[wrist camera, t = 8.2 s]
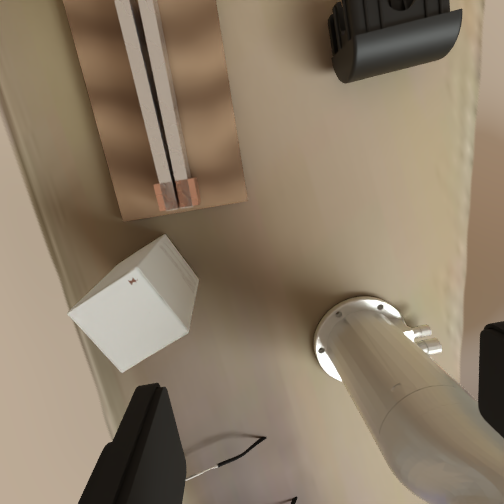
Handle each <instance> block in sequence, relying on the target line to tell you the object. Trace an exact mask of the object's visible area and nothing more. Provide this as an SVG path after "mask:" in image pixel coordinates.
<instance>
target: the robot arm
mask: <svg viewBox="0 0 504 504" xmlns="http://www.w3.org/2000/svg"><path fill="white" fill-rule="evenodd" d="M431 333H432V332H431V329H430V327H429V326H428V325H422V326H417V327H414V328H411V327H409V326H406V324H405V321H404V319H403V317H402V316H401V314H400V313H399V311H398V310H396V309H395V308H394V307H393V306H392V305H391V304H389V303H388V302H386V301H384V300H382V299H379V298H375V297H370V296H360V297H355V298H350V299H348V300H345V301H342V302H341V303H339V304H337V305H336V306H334V307H333V308H332V309H330V310H329V311H328V312H327V313H326V314H325V316H324V317H323V318H322V319H321V321H320V323H319V324H318V326H317V329H316V332H315V335H314V352H315V355H316V358H317V360H318V362H319V364H320V366H321V367H322V368H323V370H324V371H325V372H326V373H327V374H328V375H330V376H331V377H333V378H335V379H337V380H339V381H342V382H343V383H344V385H345V387H346V389H347V391H348V393H349V394H350V396H351V398H352V400H353V402H354V404H355V405H356V407H357V409H358V411H359V413H360V414H361V416H362V418H363V420H364V422H365V424H366V425H367V427H368V429H369V431H370V433H371V435H372V436H373V438H374V440H375V442H376V444H377V445H378V447H379V449H380V451H381V453H382V455H383V457H384V459H385V460H386V462H387V464H388V466H389V468H390V469H391V471H392V472H393V474H394V475H395V476H396V478H397V479H398V480H399V481H400V482H401V483H402V484H403V485H404V486H405V487H406V488H407V489H408V490H409V491H410V492H412V493H413V494H414V495H416V496H417V497H419V498H420V499H422V500H423V501H425V502H427V503H429V504H504V321H503V322H497V323H492V324H488V325H486V326H485V328H484V330H483V331H482V332H481V334H480V357H479V393H478V394H479V395H478V401H477V400H476V399H475V398H474V397H473V396H472V395H471V394H470V393H469V392H468V391H467V390H465V389H464V388H463V387H462V386H461V385H460V384H459V383H458V382H457V381H456V380H455V379H454V378H452V377H451V376H450V375H449V374H448V373H447V372H446V371H445V370H444V369H443V368H442V367H441V366H440V365H438V364H437V363H436V362H435V361H434V360H433V359H432V358H431V357H430V356H429V355H433V354H438V353H441V352H442V346H441V344H440V342H439V340H438V339H436V338H432V339H427V340H422V341H420V342H414V341H413V340H414V338H416V337H425V336H430V335H431ZM185 480H186V460H185V456H184V452H183V449H182V445H181V441H180V437H179V433H178V429H177V426H176V422H175V418H174V414H173V410H172V407H171V403H170V399H169V395H168V391H167V389H166V387H160V385H159V383H153V384H148V385H142V386H138V387H137V388H136V389H135V392H134V394H133V396H132V399H131V401H130V403H129V405H128V408H127V410H126V412H125V414H124V417H123V419H122V421H121V423H120V426H119V428H118V430H117V432H116V435H115V437H114V439H113V442H110V443H108V444H107V445H106V446H105V447H104V449H103V451H102V453H101V455H100V457H99V459H98V461H97V463H96V466H95V468H94V470H93V472H92V475H91V476H90V478H89V481H88V483H87V485H86V487H85V489H84V491H83V494H82V496H81V498H80V500H79V502H78V504H182V500H183V493H184V486H185Z"/></svg>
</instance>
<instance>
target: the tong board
mask: <svg viewBox="0 0 504 504" xmlns="http://www.w3.org/2000/svg"><path fill="white" fill-rule="evenodd" d="M135 1H136V4H137V8H138V13H139V17H140V21H141V26H142V30H143V34H144V39H145V43H146V47H147V42H146V37H145V33H144V28H143V23H142V18H141V13H140V8H139V3H138V0H135ZM157 2H158V7H159V13H160V18H161V23H162V28H163V34H164V39H165V44H166V49H167V54H168V60H169V65H170V70H171V75H172V80H173V86H174V91H175V96H176V101H177V107H178V112H179V117H180V122H181V127H182V133H183V138H184V143H185V148H186V153H187V159H188V164H189V169H190V174H191V178H193V177H197V181H198V186H199V192H200V197H201V202H200V204H199V205H195V206H193V207H188V208H182V209H181V207H180V208H179V209H176V210H171V211H166V210H165V211H160V210H159V206H158V202H157V198H156V194H155V190H154V186H153V185H154V184H158V183H159V180H158V176H157V172H156V168H155V164H154V160H153V156H152V152H151V147H150V143H149V139H148V135H147V131H146V127H145V123H144V119H143V115H142V111H141V107H140V103H139V99H138V95H137V91H136V87H135V83H134V79H133V74H132V70H131V66H130V62H129V58H128V54H127V50H126V46H125V42H124V38H123V34H122V30H121V26H120V22H119V18H118V14H117V10H116V6H115V1H114V0H63V3H64V7H65V10H66V14H67V18H68V21H69V25H70V29H71V32H72V36H73V40H74V43H75V47H76V51H77V54H78V58H79V62H80V65H81V69H82V73H83V76H84V80H85V84H86V87H87V91H88V95H89V98H90V102H91V106H92V109H93V113H94V117H95V120H96V124H97V128H98V131H99V135H100V139H101V142H102V146H103V150H104V153H105V157H106V161H107V164H108V168H109V172H110V175H111V179H112V183H113V186H114V190H115V194H116V197H117V201H118V205H119V208H120V212H121V216H122V219H123V222H126V221H132V220H138V219H143V218H149V217H155V216H161V215H167V214H173V213H179V212H185V211H191V210H197V209H203V208H209V207H215V206H221V205H227V204H233V203H238V202H244V201H248V198H247V192H246V186H245V180H244V173H243V167H242V161H241V155H240V148H239V142H238V136H237V130H236V123H235V117H234V111H233V105H232V98H231V92H230V86H229V80H228V73H227V67H226V61H225V55H224V48H223V42H222V36H221V30H220V23H219V17H218V11H217V5H216V0H157ZM147 52H148V47H147ZM148 56H149V52H148ZM149 60H150V57H149ZM150 65H151V62H150ZM151 69H152V67H151ZM152 73H153V71H152ZM153 78H154V76H153ZM154 82H155V81H154Z"/></svg>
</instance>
